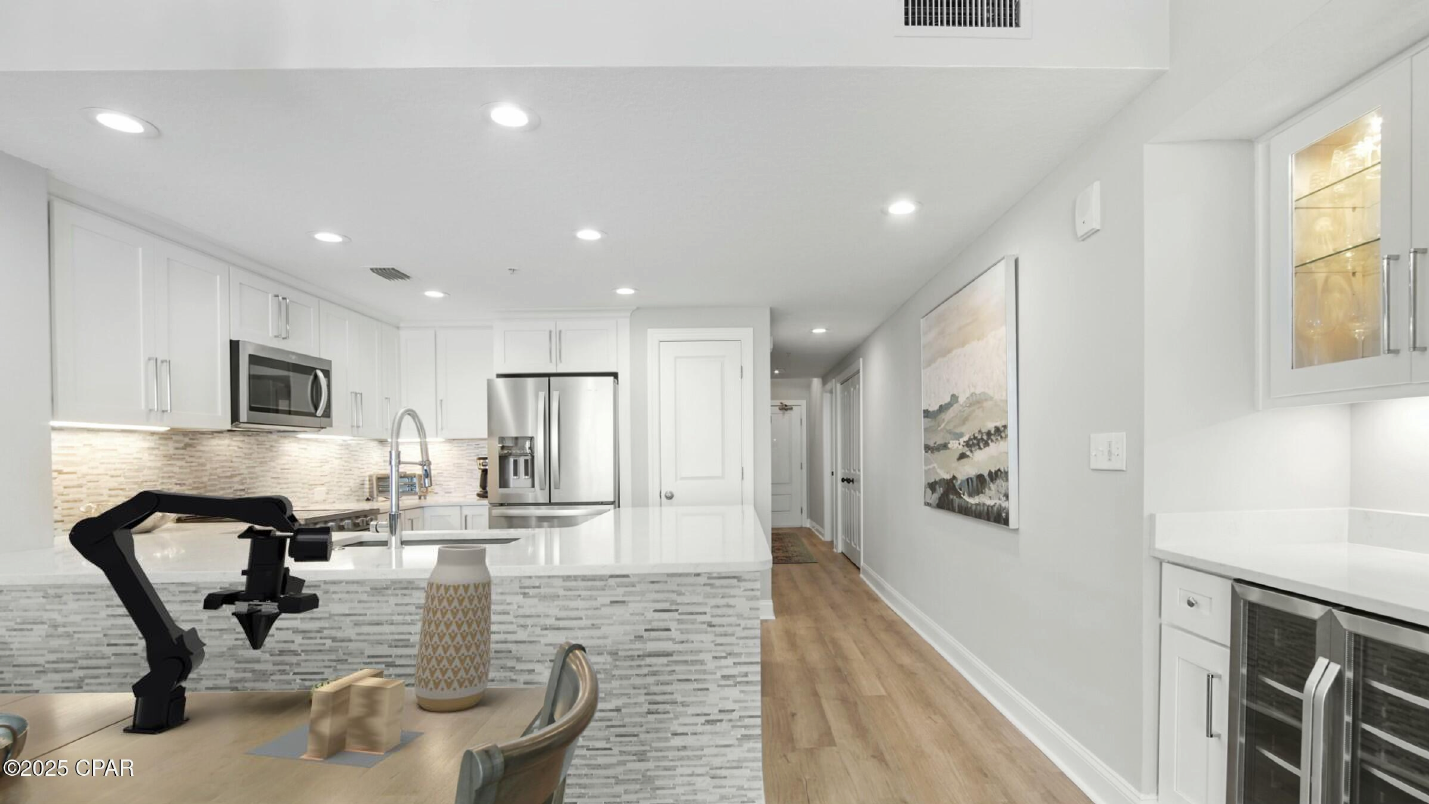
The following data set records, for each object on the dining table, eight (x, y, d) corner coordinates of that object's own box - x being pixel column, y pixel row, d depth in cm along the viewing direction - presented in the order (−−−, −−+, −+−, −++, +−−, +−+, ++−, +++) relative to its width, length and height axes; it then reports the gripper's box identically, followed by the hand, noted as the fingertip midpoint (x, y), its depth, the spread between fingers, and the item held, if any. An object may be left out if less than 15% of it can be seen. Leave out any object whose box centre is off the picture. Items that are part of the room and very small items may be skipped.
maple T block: (306, 757, 100) (313, 690, 102) (360, 728, 112) (365, 668, 113) (366, 763, 99) (373, 695, 100) (414, 734, 110) (419, 673, 112)
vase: (502, 700, 130) (512, 546, 133) (448, 723, 117) (461, 552, 121) (452, 689, 135) (463, 541, 139) (395, 709, 123) (409, 546, 127)
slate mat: (243, 757, 101) (244, 753, 101) (312, 724, 115) (312, 720, 115) (369, 771, 97) (370, 767, 97) (425, 736, 111) (425, 732, 111)
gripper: (341, 559, 127) (333, 641, 125) (253, 555, 129) (244, 636, 127) (302, 567, 116) (292, 656, 114) (205, 562, 118) (194, 651, 116)
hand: (256, 649), depth 118 cm, fingers closed
